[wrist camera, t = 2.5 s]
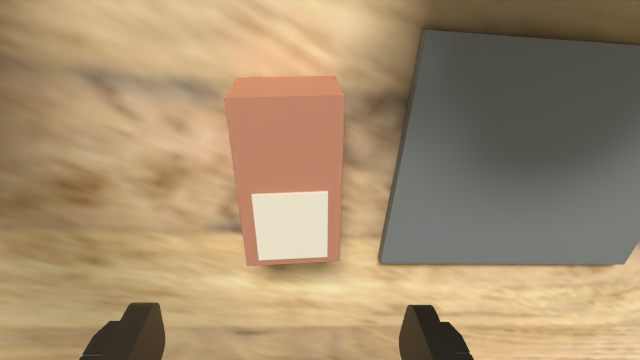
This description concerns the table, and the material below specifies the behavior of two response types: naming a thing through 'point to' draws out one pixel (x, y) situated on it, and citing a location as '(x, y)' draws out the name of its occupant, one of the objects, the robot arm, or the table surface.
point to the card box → (288, 166)
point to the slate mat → (517, 153)
